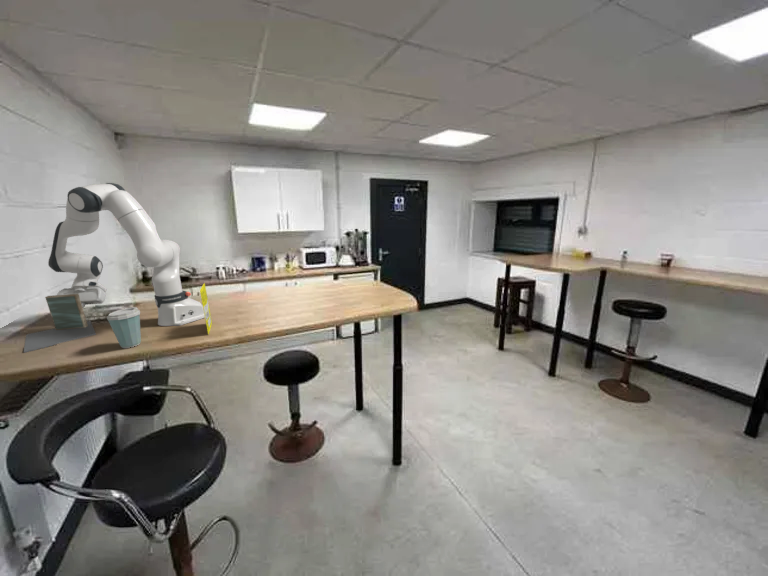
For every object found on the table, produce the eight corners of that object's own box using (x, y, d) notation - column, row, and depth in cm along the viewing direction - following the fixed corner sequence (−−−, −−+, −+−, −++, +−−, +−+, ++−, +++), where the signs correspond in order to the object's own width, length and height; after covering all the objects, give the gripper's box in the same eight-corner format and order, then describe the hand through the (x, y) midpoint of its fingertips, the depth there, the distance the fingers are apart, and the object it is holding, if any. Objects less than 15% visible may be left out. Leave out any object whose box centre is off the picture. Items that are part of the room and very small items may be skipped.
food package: (210, 323, 154) (203, 282, 148) (213, 323, 154) (206, 282, 149) (207, 335, 140) (198, 290, 135) (209, 334, 140) (201, 290, 135)
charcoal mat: (90, 321, 161) (90, 320, 161) (96, 335, 144) (96, 334, 143) (26, 335, 146) (26, 334, 146) (24, 352, 129) (23, 351, 128)
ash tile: (59, 328, 152) (48, 295, 148) (87, 325, 154) (78, 293, 150) (55, 330, 150) (44, 297, 146) (84, 327, 152) (74, 295, 148)
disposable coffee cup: (110, 352, 126) (99, 316, 122) (121, 341, 136) (112, 308, 132) (142, 348, 129) (133, 312, 125) (151, 337, 139) (143, 304, 135)
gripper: (55, 285, 157) (44, 311, 150) (102, 282, 160) (94, 307, 153) (65, 292, 163) (55, 317, 156) (110, 288, 166) (102, 313, 159)
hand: (75, 312), depth 155 cm, fingers closed
